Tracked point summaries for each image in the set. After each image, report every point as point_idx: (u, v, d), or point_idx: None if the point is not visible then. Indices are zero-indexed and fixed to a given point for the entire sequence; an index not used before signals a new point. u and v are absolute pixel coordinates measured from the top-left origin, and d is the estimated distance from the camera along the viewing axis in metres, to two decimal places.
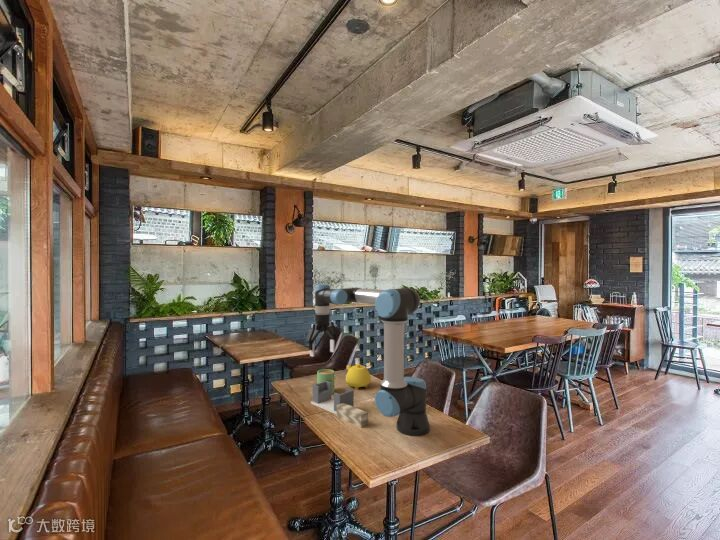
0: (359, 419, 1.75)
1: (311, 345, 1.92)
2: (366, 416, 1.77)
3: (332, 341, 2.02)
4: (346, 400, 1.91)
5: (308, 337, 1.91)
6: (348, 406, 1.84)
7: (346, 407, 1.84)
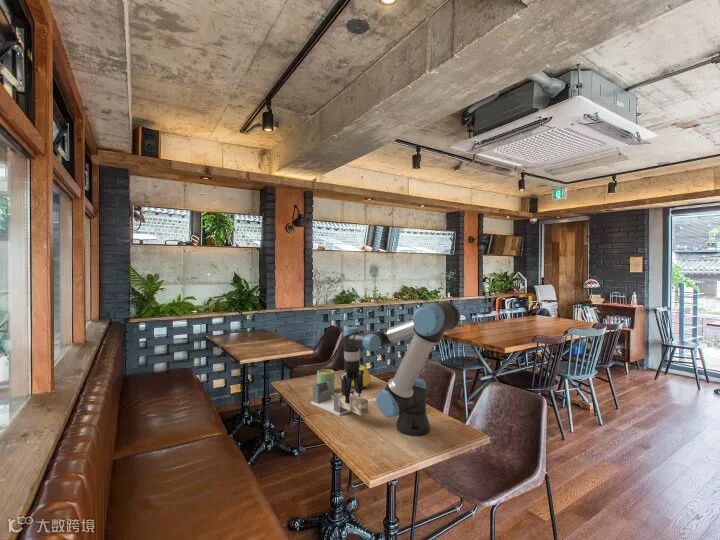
0: (359, 407, 1.74)
1: (348, 398, 1.78)
2: (366, 404, 1.76)
3: (357, 395, 1.82)
4: None
5: (343, 390, 1.77)
6: None
7: None
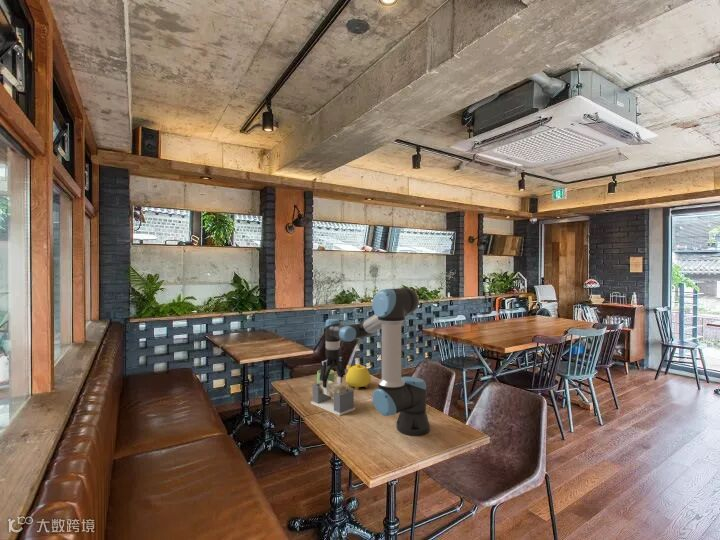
0: (337, 392, 1.92)
1: (325, 382, 1.95)
2: (344, 390, 1.94)
3: (339, 378, 2.02)
4: (346, 400, 1.91)
5: (321, 375, 1.94)
6: (329, 382, 2.02)
7: None
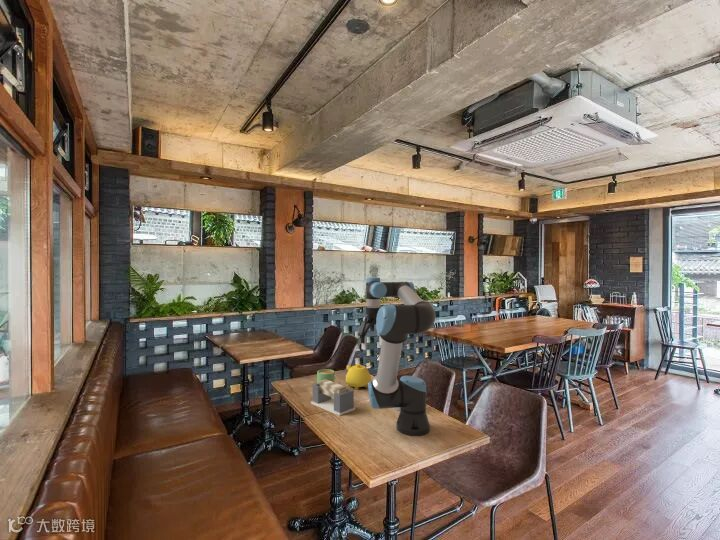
0: (337, 392, 1.92)
1: (363, 338, 1.91)
2: (344, 390, 1.94)
3: None
4: (346, 400, 1.91)
5: (360, 330, 1.91)
6: (329, 382, 2.02)
7: (327, 382, 2.02)
